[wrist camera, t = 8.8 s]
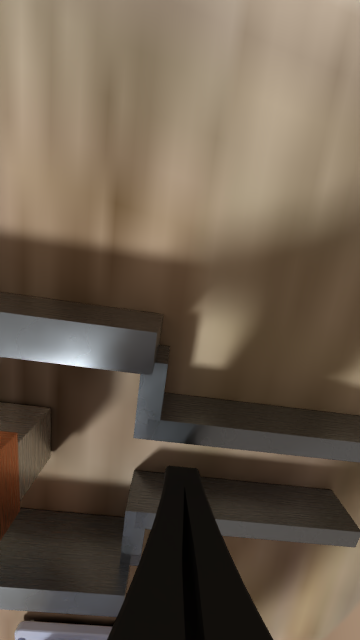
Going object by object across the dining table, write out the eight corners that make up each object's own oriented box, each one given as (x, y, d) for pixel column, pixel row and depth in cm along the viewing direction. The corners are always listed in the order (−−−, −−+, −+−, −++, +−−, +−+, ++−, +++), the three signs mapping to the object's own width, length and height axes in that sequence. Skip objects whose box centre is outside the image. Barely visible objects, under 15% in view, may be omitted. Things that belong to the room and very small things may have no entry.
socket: (307, 552, 13) (345, 631, 10) (-108, 516, 12) (-200, 595, 9) (387, 345, 10) (474, 374, 7) (-161, 270, 9) (-327, 268, 6)
